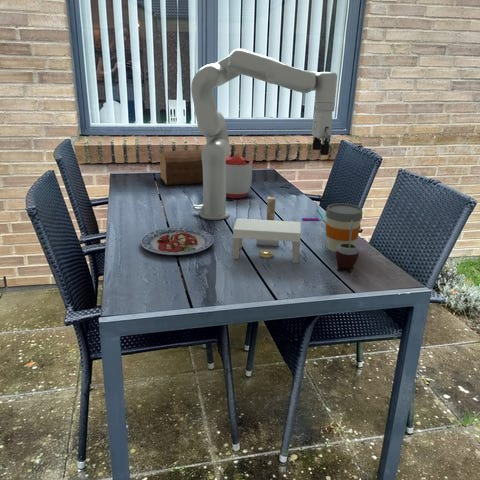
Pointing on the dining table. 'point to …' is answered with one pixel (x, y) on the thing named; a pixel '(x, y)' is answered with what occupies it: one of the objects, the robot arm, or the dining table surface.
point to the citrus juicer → (238, 177)
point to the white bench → (266, 233)
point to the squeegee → (316, 218)
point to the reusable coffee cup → (342, 224)
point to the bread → (181, 167)
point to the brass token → (266, 253)
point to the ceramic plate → (177, 241)
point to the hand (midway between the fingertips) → (320, 152)
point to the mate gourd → (346, 255)
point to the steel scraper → (269, 217)
